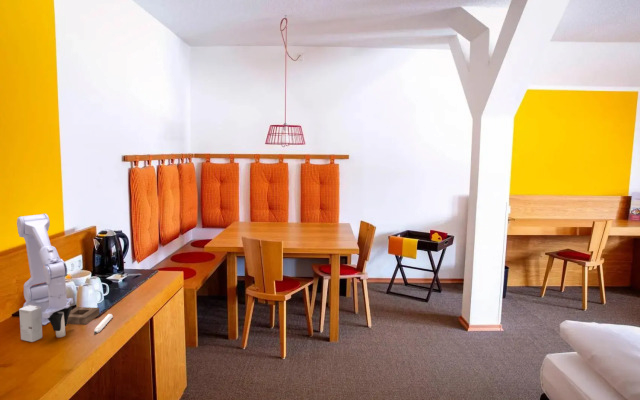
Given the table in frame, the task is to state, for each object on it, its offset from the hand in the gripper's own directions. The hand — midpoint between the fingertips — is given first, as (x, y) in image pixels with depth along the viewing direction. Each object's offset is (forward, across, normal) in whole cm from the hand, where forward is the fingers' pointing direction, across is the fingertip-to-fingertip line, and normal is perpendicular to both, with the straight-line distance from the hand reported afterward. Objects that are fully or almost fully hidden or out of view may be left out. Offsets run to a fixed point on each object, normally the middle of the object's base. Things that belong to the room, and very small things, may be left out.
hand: (60, 328), depth 162 cm
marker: (+3, +9, -11) cm, 15 cm away
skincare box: (+3, -3, +9) cm, 10 cm away
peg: (+3, 0, 0) cm, 3 cm away
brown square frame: (+3, +15, +2) cm, 15 cm away
